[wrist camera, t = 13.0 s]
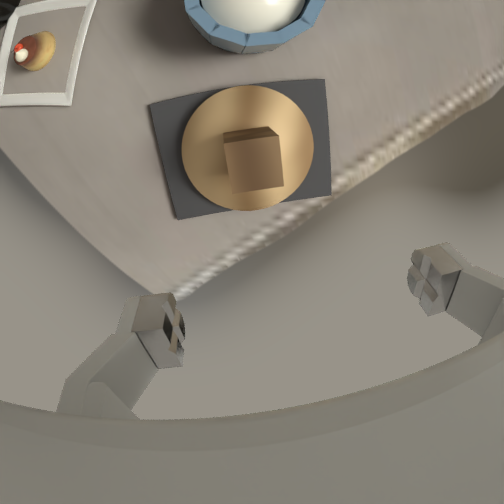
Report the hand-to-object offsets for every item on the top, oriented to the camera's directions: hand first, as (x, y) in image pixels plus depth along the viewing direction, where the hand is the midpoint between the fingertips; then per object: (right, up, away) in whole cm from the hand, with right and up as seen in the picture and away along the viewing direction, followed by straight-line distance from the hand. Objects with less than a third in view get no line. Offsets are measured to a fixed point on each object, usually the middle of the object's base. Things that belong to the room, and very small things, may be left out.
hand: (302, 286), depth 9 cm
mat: (-2, +11, +17) cm, 20 cm away
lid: (-2, +11, +17) cm, 20 cm away
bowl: (-2, +23, +9) cm, 25 cm away
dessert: (-23, +22, +8) cm, 33 cm away
